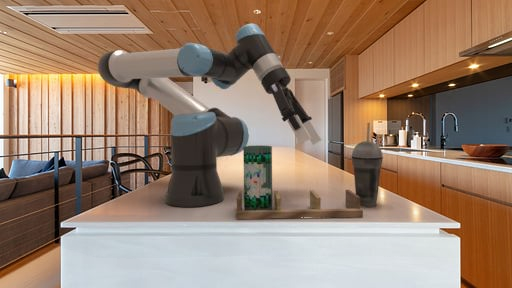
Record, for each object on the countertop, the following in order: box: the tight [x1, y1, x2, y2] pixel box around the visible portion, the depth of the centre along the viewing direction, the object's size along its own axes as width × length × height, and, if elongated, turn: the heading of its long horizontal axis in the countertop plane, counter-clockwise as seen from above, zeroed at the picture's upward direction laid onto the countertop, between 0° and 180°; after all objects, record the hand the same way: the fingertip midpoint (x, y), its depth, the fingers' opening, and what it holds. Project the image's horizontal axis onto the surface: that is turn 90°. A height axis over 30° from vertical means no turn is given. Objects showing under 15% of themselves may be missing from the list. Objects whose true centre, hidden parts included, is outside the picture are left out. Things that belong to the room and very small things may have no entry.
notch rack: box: [236, 189, 364, 220], centre depth 68 cm, size 27×9×4 cm, turn 91°
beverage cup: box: [351, 122, 384, 208], centre depth 74 cm, size 7×7×20 cm
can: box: [242, 145, 273, 210], centre depth 69 cm, size 6×6×15 cm
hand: (312, 141), depth 78 cm, fingers open, 13 cm apart
